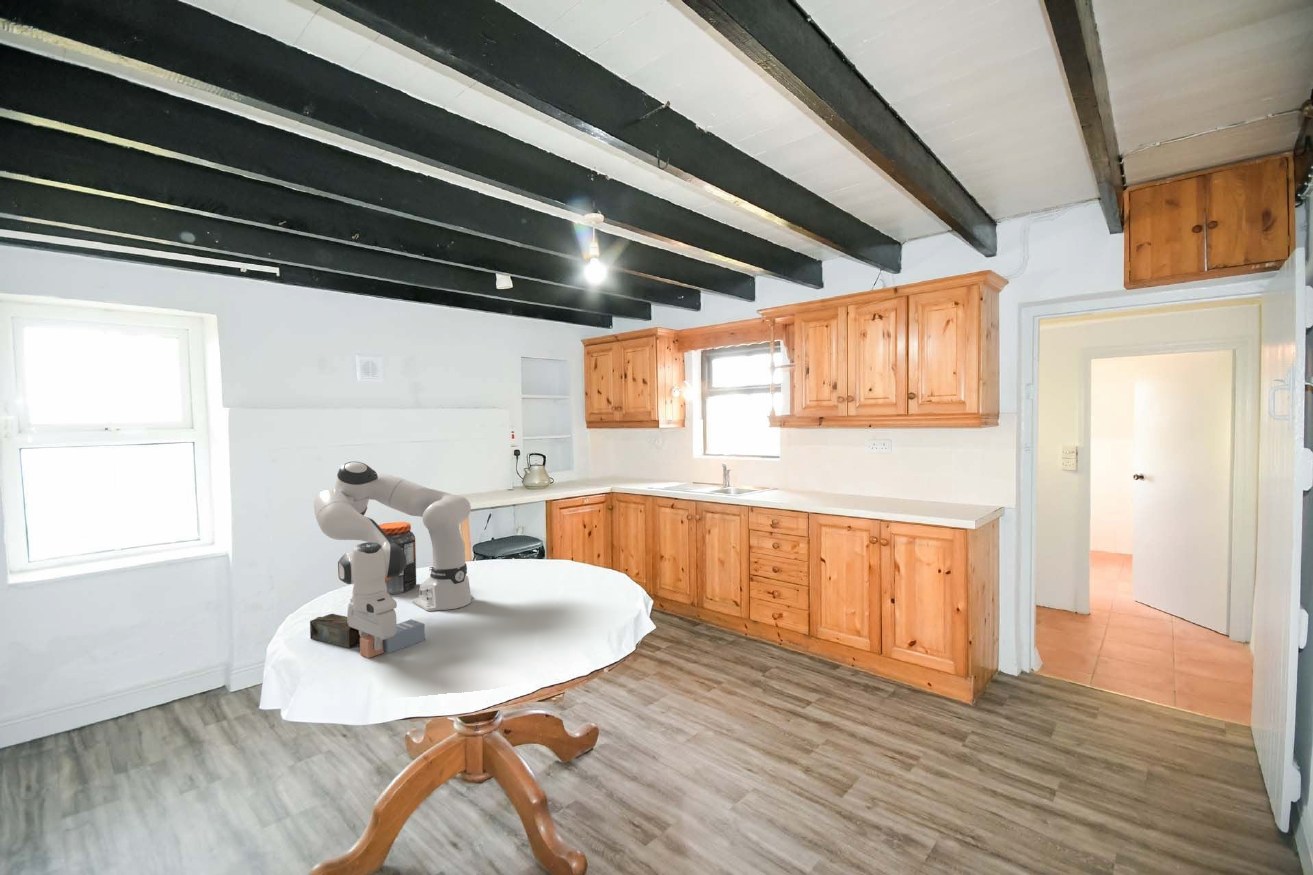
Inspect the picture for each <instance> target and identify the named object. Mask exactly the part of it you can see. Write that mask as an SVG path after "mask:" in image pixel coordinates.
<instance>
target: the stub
mask: <svg viewBox="0 0 1313 875" xmlns="http://www.w3.org/2000/svg"><path fill="white" fill-rule="evenodd" d="M374 643H375V639H374V636H373V635H368V636H365V637H362V638H360V645H359V653H360V656H362V657H366V658H367V659H369V658H373V657H376V656H377V655H378V656H379V655H380V654H383V653H384V652H383V641H382V643H381V646H382V648H381V649H380V650H377V651H376V650H374V649H373V644H374Z"/></svg>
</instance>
